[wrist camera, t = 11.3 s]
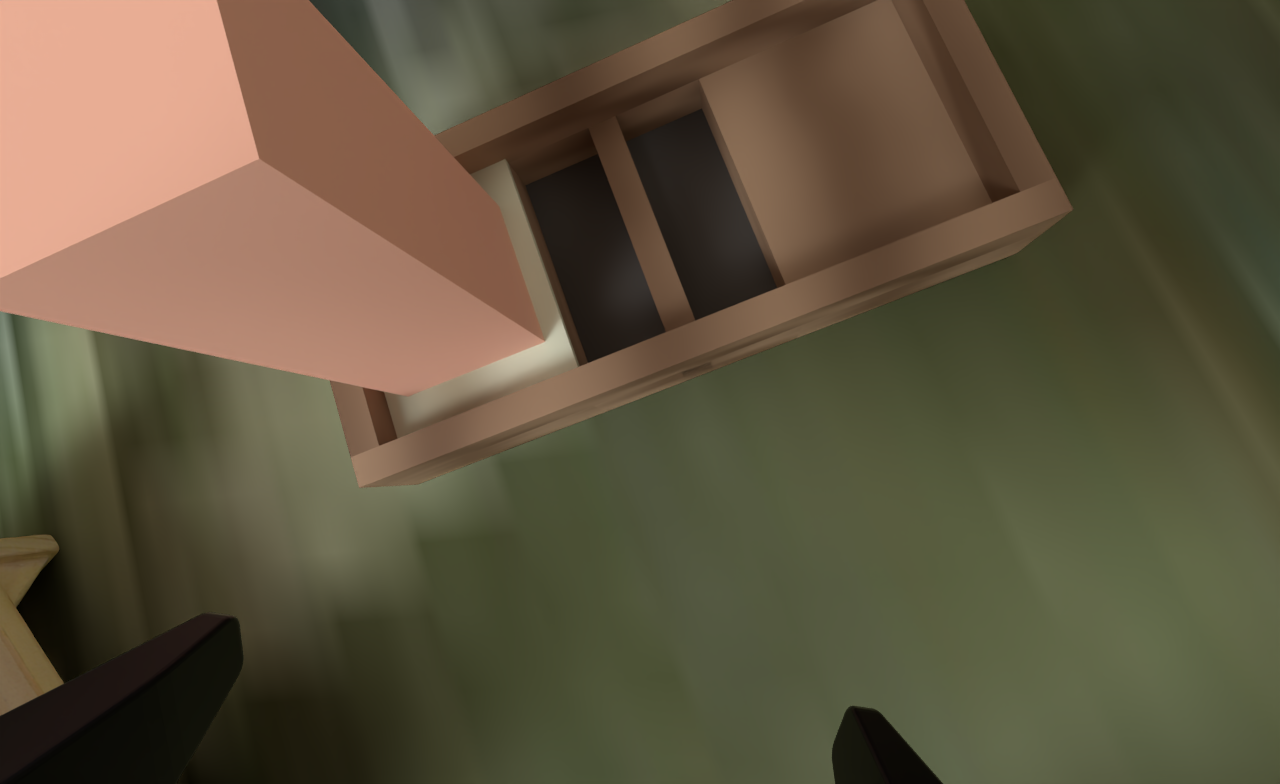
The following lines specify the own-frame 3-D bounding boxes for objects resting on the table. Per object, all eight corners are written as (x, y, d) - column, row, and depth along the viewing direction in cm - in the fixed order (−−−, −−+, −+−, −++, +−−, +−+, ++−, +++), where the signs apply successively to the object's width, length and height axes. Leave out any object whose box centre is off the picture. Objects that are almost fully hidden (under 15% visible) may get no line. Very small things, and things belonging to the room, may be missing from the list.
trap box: (891, 2, 22) (919, -85, 18) (1016, 253, 20) (1073, 209, 17) (347, 242, 24) (281, 204, 21) (417, 484, 22) (359, 487, 19)
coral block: (499, 206, 21) (179, -140, 9) (545, 341, 20) (259, 158, 8) (368, 262, 21) (-98, 6, 9) (407, 396, 20) (-49, 300, 9)
